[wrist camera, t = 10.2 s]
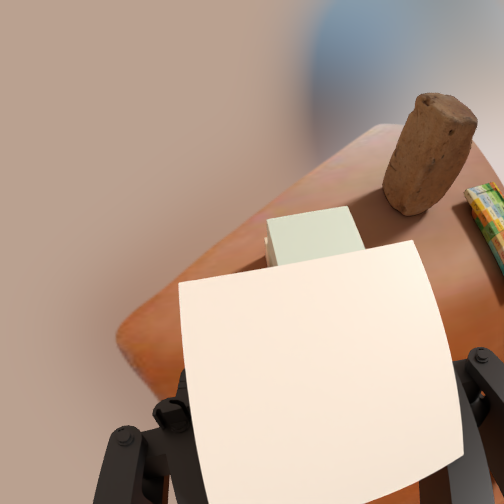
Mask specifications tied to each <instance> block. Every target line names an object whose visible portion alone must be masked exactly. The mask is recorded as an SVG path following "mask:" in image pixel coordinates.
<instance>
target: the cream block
mask: <svg viewBox="0 0 504 504" xmlns="http://www.w3.org/2000/svg"><path fill="white" fill-rule="evenodd" d="M179 302H180V317H181V330H182V342H183V352H184V362H185V371H186V380H187V388H188V395H189V403H190V409H191V416H192V423H193V429H194V435H195V440H196V446H197V451H198V457H199V462H200V467H201V472H202V476H203V481H204V485H205V490H206V494H207V498H208V502H209V504H363V503H366V502H369V501H372V500H375V499H377V498H380V497H383V496H385V495H388V494H390V493H393V492H395V491H397V490H400V489H402V488H404V487H406V486H409V485H411V484H413V483H415V482H417V481H419V480H421V479H423V478H425V477H427V476H429V475H431V474H432V473H434V472H436V471H438V470H440V469H441V468H443V467H445V466H447V465H448V464H450V463H452V462H453V461H455V460H456V459H458V458H459V457H461V456H463V455H464V451H463V433H462V421H461V412H460V404H459V397H458V390H457V384H456V379H455V373H454V368H453V363H452V359H451V354H450V350H449V346H448V342H447V338H446V334H445V330H444V327H443V323H442V320H441V316H440V313H439V310H438V306H437V303H436V300H435V297H434V294H433V291H432V288H431V286H430V283H429V280H428V277H427V275H426V272H425V269H424V267H423V264H422V262H421V259H420V257H419V254H418V252H417V249H416V247H415V245H414V242H413V240H410V241H405V242H400V243H395V244H390V245H385V246H380V247H375V248H370V249H365V250H360V251H355V252H350V253H345V254H339V255H334V256H329V257H324V258H318V259H313V260H308V261H302V262H297V263H291V264H286V265H280V266H275V267H269V268H264V269H258V270H252V271H246V272H241V273H235V274H229V275H223V276H217V277H211V278H205V279H199V280H193V281H187V282H181V283H179Z"/></svg>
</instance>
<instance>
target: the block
mask: <svg viewBox="0 0 504 504" xmlns="http://www.w3.org/2000/svg"><path fill="white" fill-rule="evenodd" d="M477 122H478V121H477V118H476V117H475V115H474V114H473V113H472V111H471V110H470V109H469V108H468V107H467V106H465V105H464V104H463V103H461V102H460V101H458V99H456V98H455V97H453V96H451V95H443V94H440V93H425V94H421V95H419V96H418V97H417V98H416V101H415V109H414V111H412V112H411V113H410V114H409V116H408V119H407V121H406V123H405V126H404V128H403V130H402V132H401V135H400V137H399V140H398V143H397V145H396V149H395V150H394V152H393V154H392V157H391V159H390V162H389V165H388V167H387V170H386V173H385V176H384V180H383V184H382V186H383V190H384V192H385V195H386V197H387V199H388V201H389V203H390V204H391V206H392V207H393V208H395V209H397V210H398V211H400V212H401V213H402V214H403V215H406V216H412V215H417V214H420V213H422V212H424V211H425V210H426V209H428V208H430V207H432V206H433V205H434V204H436V203H437V202H438V201H439V200H440V199H441V198H442V197H443V196H444V195H445V193H446V192H447V191H448V189H449V188H450V187H451V185H452V184H453V182H454V181H455V179H456V177H457V176H458V174H459V173H460V171H461V169H462V167H463V165H464V164H465V162H466V160H467V157H468V155H469V152H470V149H471V144H472V137H473V135H474V133H475V130H476V128H477Z"/></svg>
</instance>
